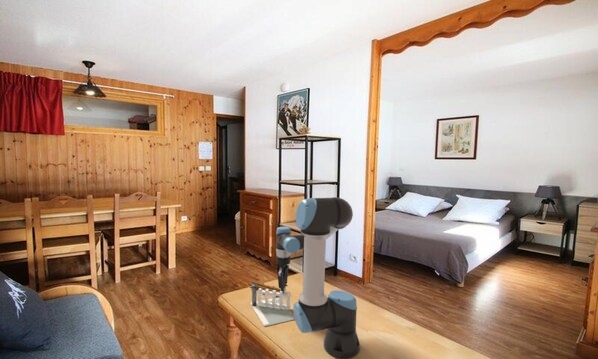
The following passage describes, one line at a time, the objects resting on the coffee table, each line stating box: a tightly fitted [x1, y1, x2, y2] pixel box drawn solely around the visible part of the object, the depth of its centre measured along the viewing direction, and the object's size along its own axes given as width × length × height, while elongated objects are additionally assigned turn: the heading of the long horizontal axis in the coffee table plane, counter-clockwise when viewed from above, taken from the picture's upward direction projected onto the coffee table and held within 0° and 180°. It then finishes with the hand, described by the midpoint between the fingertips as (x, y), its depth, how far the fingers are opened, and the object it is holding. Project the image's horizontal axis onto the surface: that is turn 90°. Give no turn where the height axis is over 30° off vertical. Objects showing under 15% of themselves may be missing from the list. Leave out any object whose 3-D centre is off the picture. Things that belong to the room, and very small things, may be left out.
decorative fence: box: [247, 280, 280, 298], centre depth 180 cm, size 25×2×10 cm
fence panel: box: [257, 288, 292, 310], centre depth 158 cm, size 18×2×9 cm, turn 75°
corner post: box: [250, 284, 258, 307], centre depth 161 cm, size 3×3×12 cm
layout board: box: [249, 296, 295, 327], centre depth 157 cm, size 25×17×1 cm
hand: (282, 298), depth 161 cm, fingers closed
